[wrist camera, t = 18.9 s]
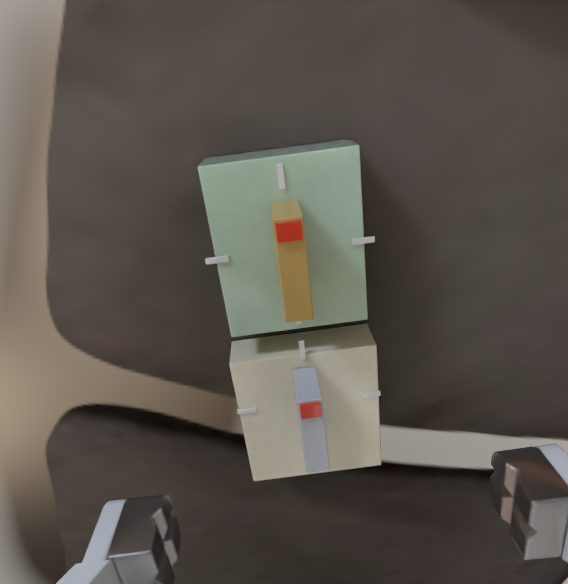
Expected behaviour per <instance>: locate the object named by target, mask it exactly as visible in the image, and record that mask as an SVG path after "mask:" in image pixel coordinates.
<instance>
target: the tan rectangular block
mask: <svg viewBox="0 0 568 584" xmlns="http://www.w3.org/2000/svg"><path fill="white" fill-rule="evenodd" d="M270 205H271V216H272V225H273V233H274V240H275V248H276V256H277V263H278V271H279V278H280V286H281V294H282V301H283V309H284V316H285V322H286V323H289V322H297V321H305V320H312V319H313V318H314V317H313V307H312V297H311V287H310V277H309V267H308V257H307V247H306V237H305V227H304V217H303V214H302V211H301V208H300V204H299V201H298V200H289V201H282V202H274V203H271V204H270Z"/></svg>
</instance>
